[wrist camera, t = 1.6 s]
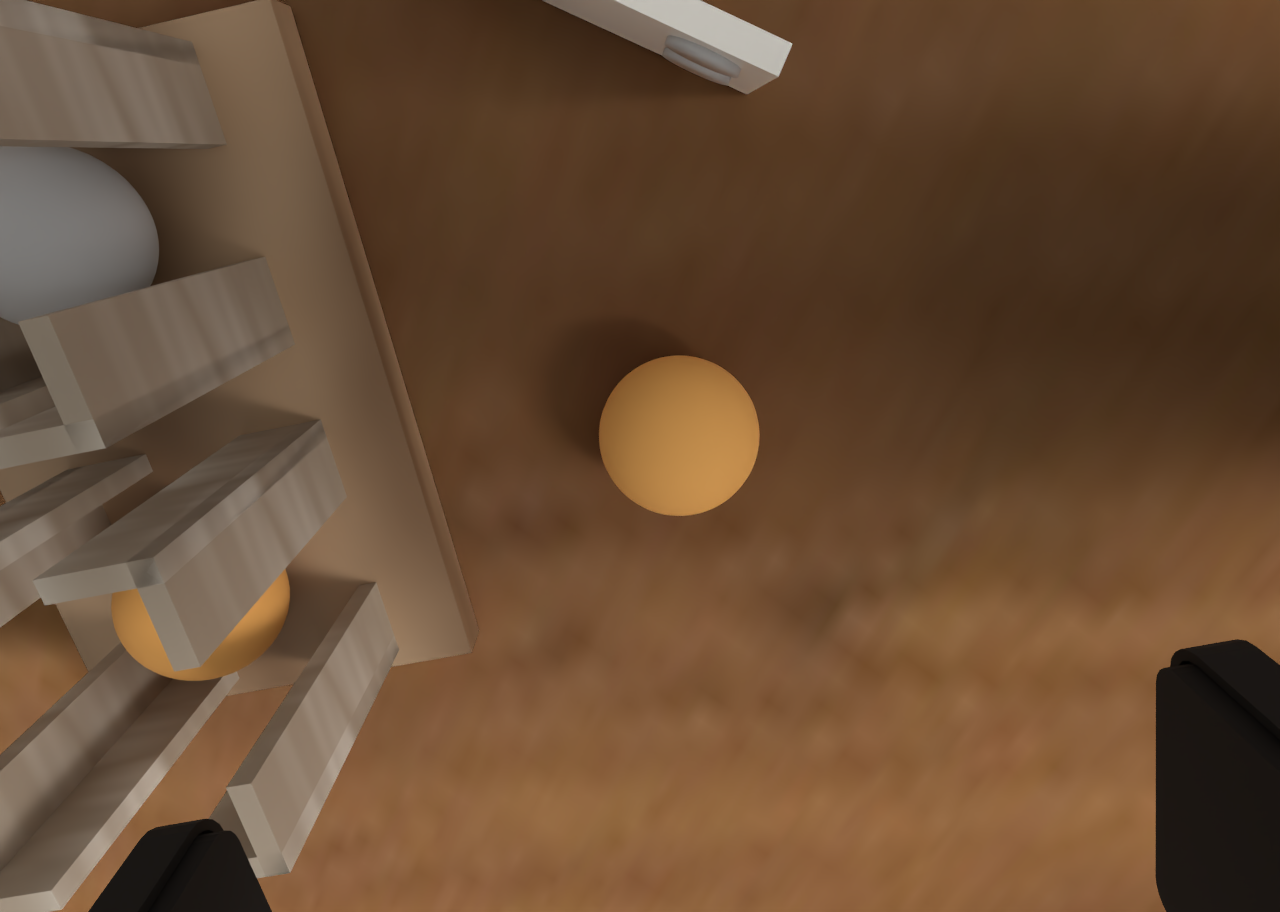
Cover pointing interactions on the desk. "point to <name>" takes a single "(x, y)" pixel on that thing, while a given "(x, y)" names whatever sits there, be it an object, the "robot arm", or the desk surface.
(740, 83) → the card
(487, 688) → the desk surface
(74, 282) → the grey ball
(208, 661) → the seated orange ball
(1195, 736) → the robot arm
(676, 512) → the orange ball
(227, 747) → the desk surface
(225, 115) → the ball rack
